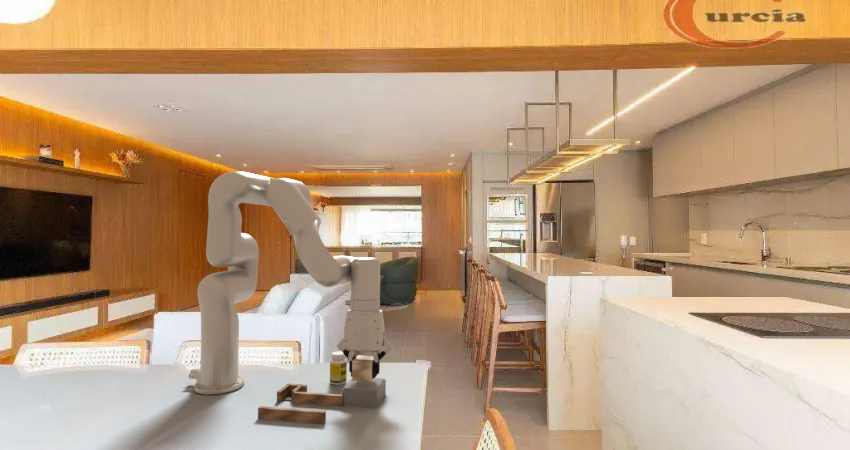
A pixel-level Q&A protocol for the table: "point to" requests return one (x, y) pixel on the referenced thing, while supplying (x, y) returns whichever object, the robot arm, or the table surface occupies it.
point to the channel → (302, 396)
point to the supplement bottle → (338, 368)
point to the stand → (364, 393)
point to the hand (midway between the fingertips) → (364, 375)
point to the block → (362, 368)
